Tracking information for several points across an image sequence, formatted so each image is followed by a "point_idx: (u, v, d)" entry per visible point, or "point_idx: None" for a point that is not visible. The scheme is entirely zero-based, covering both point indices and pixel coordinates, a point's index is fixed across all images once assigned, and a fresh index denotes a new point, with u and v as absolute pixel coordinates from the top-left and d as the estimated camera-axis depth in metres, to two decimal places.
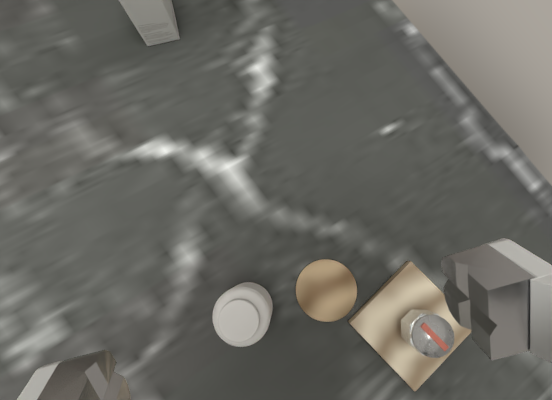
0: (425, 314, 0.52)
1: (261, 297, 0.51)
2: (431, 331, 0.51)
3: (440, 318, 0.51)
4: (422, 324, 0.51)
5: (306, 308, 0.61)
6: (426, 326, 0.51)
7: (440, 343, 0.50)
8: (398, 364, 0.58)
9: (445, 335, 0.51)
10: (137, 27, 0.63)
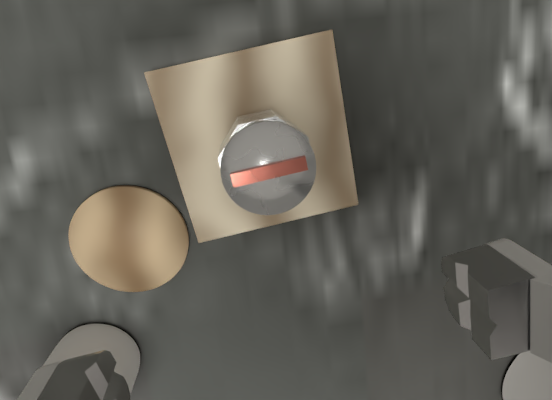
0: (222, 152, 0.22)
1: None
2: (255, 172, 0.21)
3: (242, 133, 0.21)
4: (232, 179, 0.22)
5: (144, 285, 0.34)
6: (239, 175, 0.21)
7: (288, 169, 0.21)
8: (304, 205, 0.32)
9: (281, 145, 0.21)
10: None
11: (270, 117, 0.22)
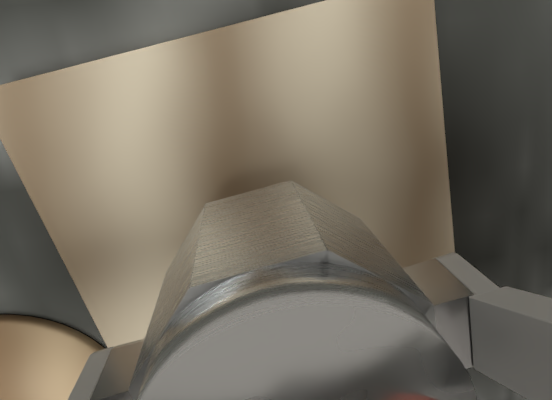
0: (140, 383, 0.06)
1: None
2: None
3: (203, 357, 0.05)
4: None
5: None
6: None
7: None
8: None
9: (358, 380, 0.05)
10: None
11: (306, 254, 0.06)
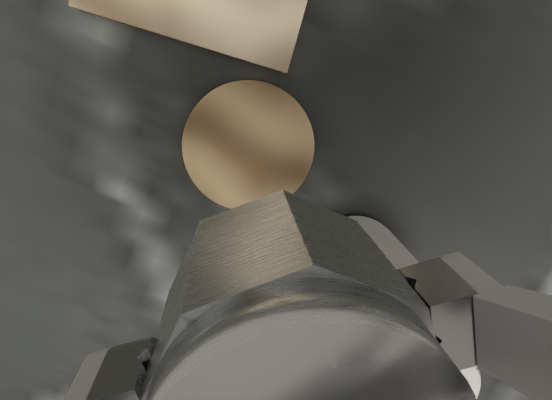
0: None
1: None
2: None
3: (195, 385, 0.05)
4: None
5: (304, 165, 0.29)
6: None
7: None
8: None
9: (353, 395, 0.05)
10: None
11: (294, 270, 0.06)
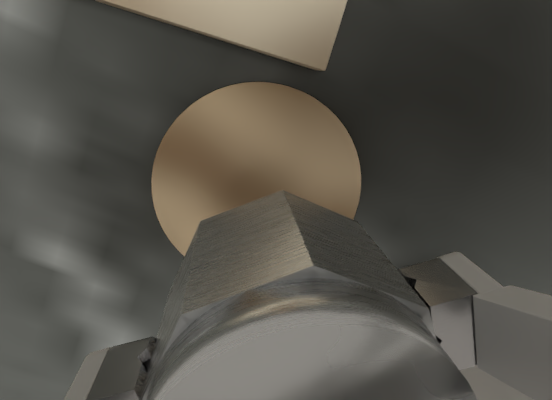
0: None
1: None
2: None
3: (195, 386, 0.05)
4: None
5: (343, 214, 0.19)
6: None
7: None
8: None
9: (353, 395, 0.05)
10: None
11: (294, 271, 0.06)
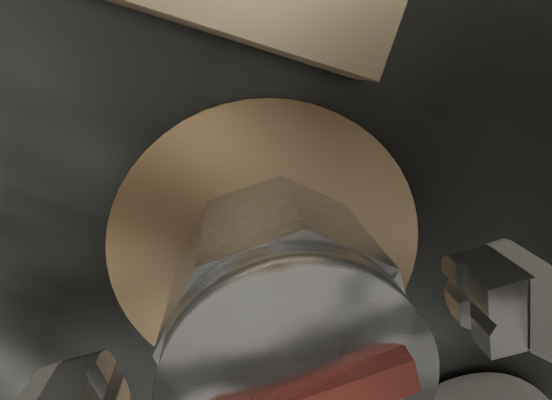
0: None
1: None
2: None
3: (208, 317, 0.06)
4: None
5: None
6: None
7: None
8: None
9: (334, 331, 0.07)
10: None
11: (289, 234, 0.08)
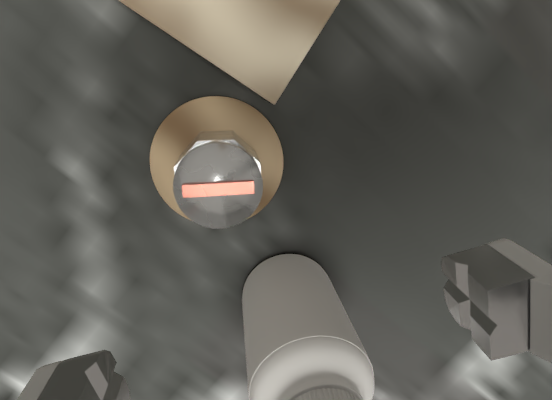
0: (179, 163, 0.24)
1: (262, 370, 0.22)
2: (205, 187, 0.23)
3: (200, 150, 0.23)
4: None
5: (266, 194, 0.30)
6: (190, 187, 0.23)
7: (236, 189, 0.23)
8: None
9: (234, 167, 0.23)
10: None
11: (229, 139, 0.24)
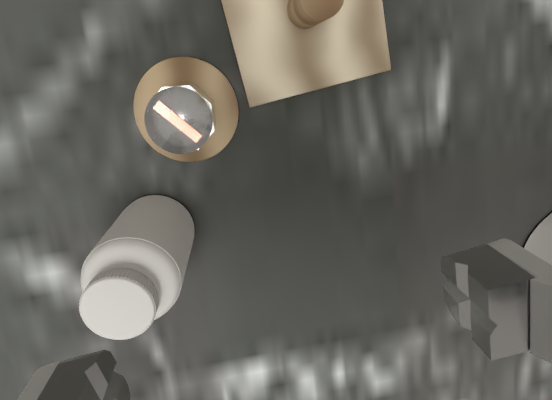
0: (167, 87, 0.31)
1: (113, 243, 0.29)
2: (171, 113, 0.31)
3: (187, 91, 0.31)
4: (156, 104, 0.31)
5: (199, 155, 0.38)
6: (162, 106, 0.31)
7: (187, 131, 0.32)
8: (343, 70, 0.35)
9: (197, 118, 0.32)
10: None
11: (207, 101, 0.33)
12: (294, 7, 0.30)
